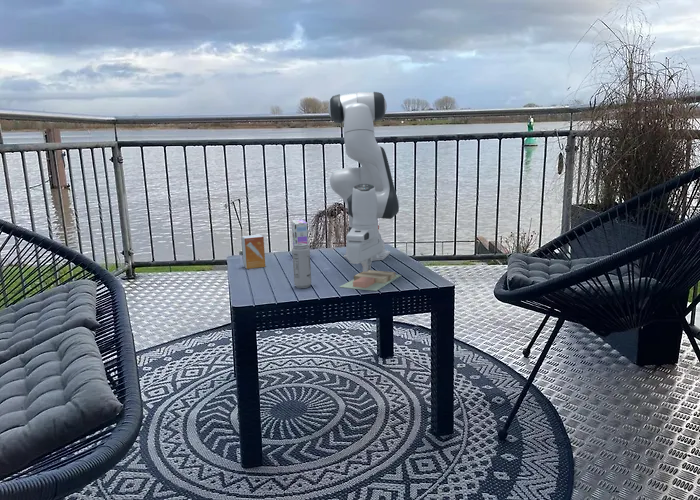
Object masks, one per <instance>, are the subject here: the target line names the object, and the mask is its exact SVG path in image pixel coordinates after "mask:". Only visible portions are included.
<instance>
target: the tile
mask: <svg viewBox="0 0 700 500" xmlns="http://www.w3.org/2000/svg"><path fill="white" fill-rule="evenodd" d="M374 283H375V278H370V277H361V278H359V279H357V280H355V281H353V287H362V288H367V287H369V286H370V285H372V284H374Z"/></svg>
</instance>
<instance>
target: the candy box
mask: <svg viewBox="0 0 700 500" xmlns="http://www.w3.org/2000/svg"><path fill="white" fill-rule="evenodd" d="M290 222H291V233H292V247H294V244H299V243H306V244H308V247H309V248H310V245H309V244H310V243H309V227H308V226H309V224H308V222H307V221H306V220H304V219H293V220H291V221H290Z"/></svg>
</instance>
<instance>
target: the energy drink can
mask: <svg viewBox="0 0 700 500" xmlns="http://www.w3.org/2000/svg"><path fill="white" fill-rule="evenodd" d="M292 247H293V246H292ZM291 251H292V268H293V270H292V271H293V282H294V283H293V284H294V286H295V287H296V288H297V289H307V288H310V287H311V285H312V270H311V269H312V267H311V254H310V253H311V251H310V246H309V247H308V244H306V243H299V244H294V247H293V248H292V250H291Z"/></svg>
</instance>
